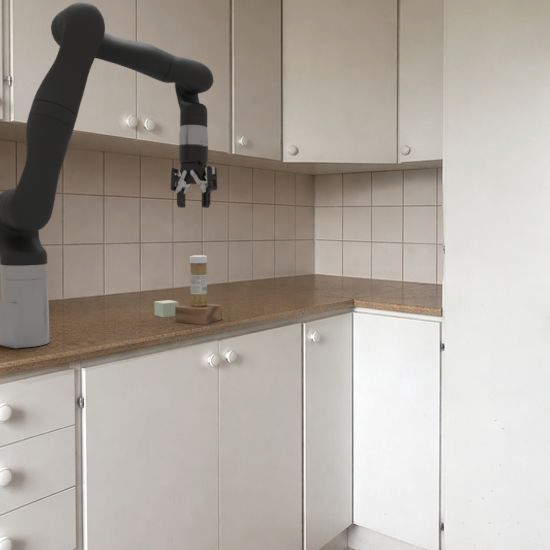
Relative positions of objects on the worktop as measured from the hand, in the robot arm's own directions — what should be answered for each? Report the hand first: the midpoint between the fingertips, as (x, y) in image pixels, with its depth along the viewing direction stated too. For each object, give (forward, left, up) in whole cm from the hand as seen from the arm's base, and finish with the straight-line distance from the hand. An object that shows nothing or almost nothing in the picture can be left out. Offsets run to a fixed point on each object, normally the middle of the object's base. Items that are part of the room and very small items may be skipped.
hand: (193, 207), depth 153 cm
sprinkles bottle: (+1, -1, -26) cm, 26 cm away
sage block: (+2, +12, -30) cm, 33 cm away
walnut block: (+1, -1, -30) cm, 30 cm away
